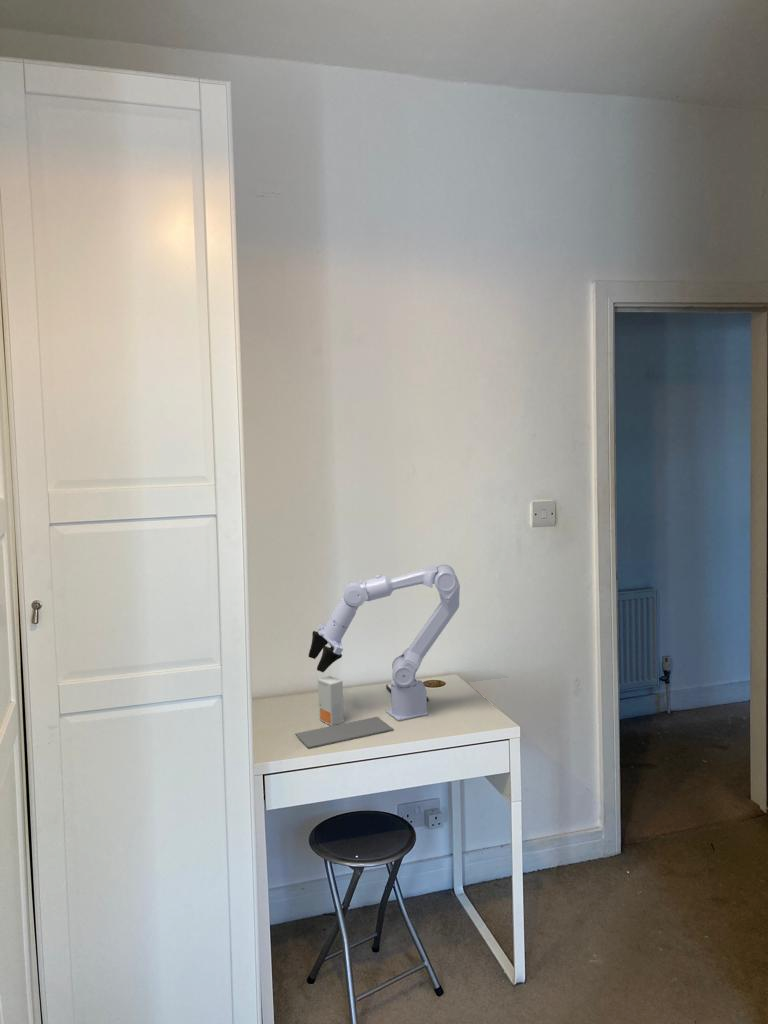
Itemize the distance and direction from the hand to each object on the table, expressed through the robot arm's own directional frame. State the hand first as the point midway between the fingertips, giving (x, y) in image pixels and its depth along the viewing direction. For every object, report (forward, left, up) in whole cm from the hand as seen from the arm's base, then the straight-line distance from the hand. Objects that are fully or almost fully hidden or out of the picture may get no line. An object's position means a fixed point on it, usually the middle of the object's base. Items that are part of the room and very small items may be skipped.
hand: (315, 664), depth 216 cm
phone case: (-30, -3, -16) cm, 34 cm away
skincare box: (-2, +6, -15) cm, 16 cm away
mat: (-2, +15, -15) cm, 21 cm away
